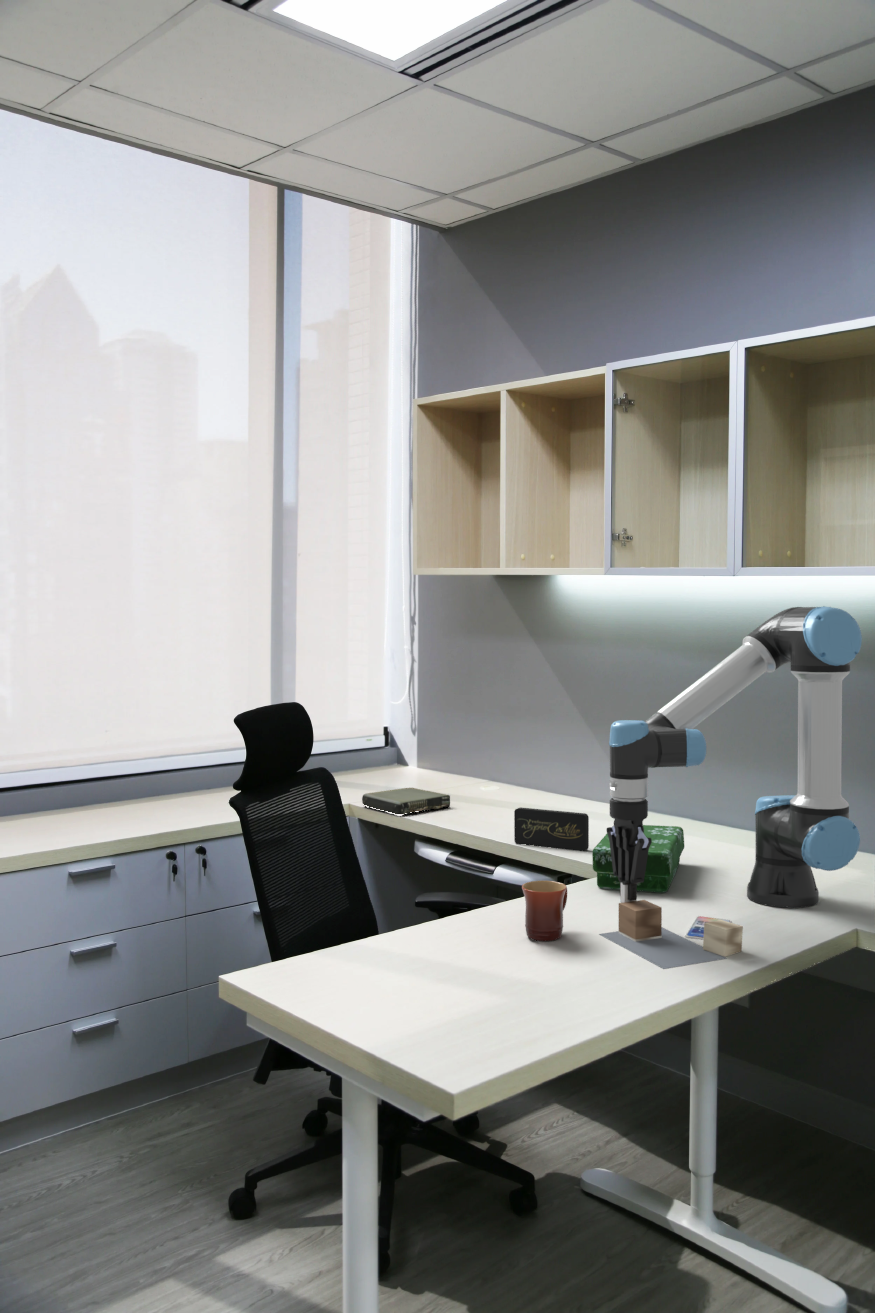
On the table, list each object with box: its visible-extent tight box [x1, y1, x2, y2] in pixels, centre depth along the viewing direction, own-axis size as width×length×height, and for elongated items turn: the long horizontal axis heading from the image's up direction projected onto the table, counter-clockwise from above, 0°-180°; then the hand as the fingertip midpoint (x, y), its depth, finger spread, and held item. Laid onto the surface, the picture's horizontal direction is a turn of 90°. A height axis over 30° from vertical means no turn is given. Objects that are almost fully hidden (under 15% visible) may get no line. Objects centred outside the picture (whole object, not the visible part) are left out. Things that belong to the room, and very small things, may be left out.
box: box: [591, 824, 685, 894], centre depth 254 cm, size 32×18×10 cm, turn 161°
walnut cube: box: [618, 899, 663, 942], centre depth 207 cm, size 6×6×6 cm
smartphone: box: [684, 915, 733, 941], centre depth 211 cm, size 7×1×15 cm
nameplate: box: [513, 807, 590, 852], centre depth 285 cm, size 21×2×10 cm, turn 61°
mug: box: [521, 880, 568, 942], centre depth 208 cm, size 12×9×10 cm
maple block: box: [702, 920, 744, 957], centre depth 197 cm, size 5×5×5 cm
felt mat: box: [598, 927, 728, 970], centre depth 200 cm, size 14×22×1 cm, turn 23°
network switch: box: [361, 787, 451, 814], centre depth 343 cm, size 23×23×5 cm
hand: (628, 914), depth 211 cm, fingers closed
